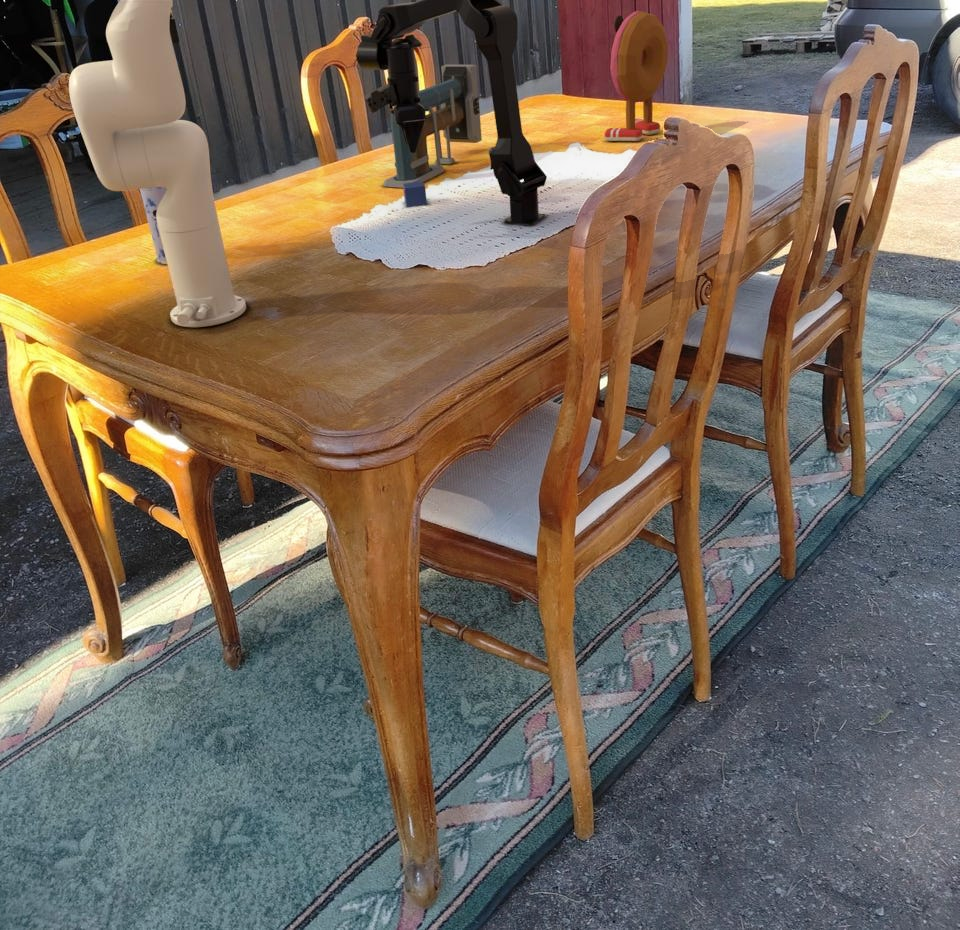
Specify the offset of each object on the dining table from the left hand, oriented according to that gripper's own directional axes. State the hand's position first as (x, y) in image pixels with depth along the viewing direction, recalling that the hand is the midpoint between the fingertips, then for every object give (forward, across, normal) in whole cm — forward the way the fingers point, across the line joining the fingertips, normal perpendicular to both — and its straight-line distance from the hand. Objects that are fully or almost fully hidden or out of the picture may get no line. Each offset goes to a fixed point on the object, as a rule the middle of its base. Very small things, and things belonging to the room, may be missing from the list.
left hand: (167, 46), depth 174 cm
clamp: (+39, -48, +51) cm, 80 cm away
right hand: (+27, -20, +43) cm, 54 cm away
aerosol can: (+39, 0, -7) cm, 39 cm away
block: (+39, -20, +43) cm, 61 cm away
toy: (+39, -58, +106) cm, 127 cm away
